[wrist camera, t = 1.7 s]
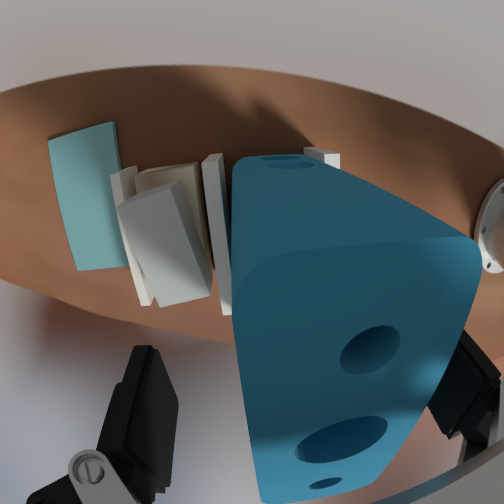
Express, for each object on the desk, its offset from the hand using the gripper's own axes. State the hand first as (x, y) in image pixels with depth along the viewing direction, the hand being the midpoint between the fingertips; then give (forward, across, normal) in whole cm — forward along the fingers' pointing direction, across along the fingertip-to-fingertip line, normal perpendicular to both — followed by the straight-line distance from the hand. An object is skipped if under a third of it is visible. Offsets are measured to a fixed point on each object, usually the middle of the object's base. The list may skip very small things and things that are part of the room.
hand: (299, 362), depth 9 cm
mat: (+17, +14, -3) cm, 23 cm away
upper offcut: (+14, +7, 0) cm, 15 cm away
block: (+17, -1, 0) cm, 17 cm away
